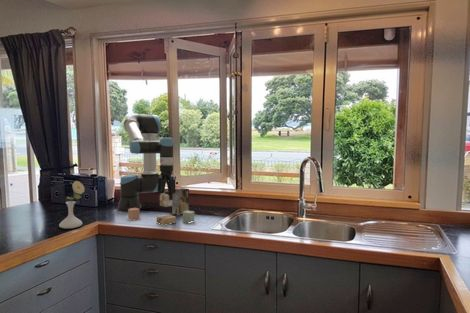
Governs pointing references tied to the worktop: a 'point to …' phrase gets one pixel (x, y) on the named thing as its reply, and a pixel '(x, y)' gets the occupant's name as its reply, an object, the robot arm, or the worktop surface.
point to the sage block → (188, 216)
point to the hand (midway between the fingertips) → (166, 204)
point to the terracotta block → (133, 213)
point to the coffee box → (180, 201)
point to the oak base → (165, 219)
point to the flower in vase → (71, 219)
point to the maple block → (164, 200)
